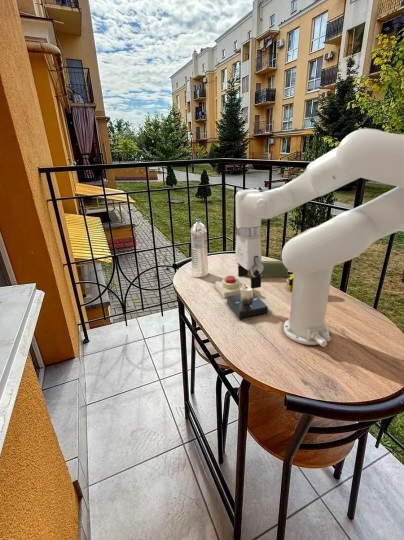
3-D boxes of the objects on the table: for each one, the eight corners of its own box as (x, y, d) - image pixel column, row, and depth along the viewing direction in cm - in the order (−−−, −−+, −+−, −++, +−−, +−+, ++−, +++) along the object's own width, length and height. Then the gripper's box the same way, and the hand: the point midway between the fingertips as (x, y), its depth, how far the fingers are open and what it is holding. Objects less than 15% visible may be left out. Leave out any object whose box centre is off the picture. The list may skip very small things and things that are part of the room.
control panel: (267, 314, 92) (267, 306, 91) (239, 320, 90) (239, 311, 89) (252, 298, 102) (252, 291, 101) (226, 303, 100) (226, 295, 98)
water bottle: (198, 270, 128) (196, 216, 119) (211, 273, 124) (209, 218, 115) (189, 275, 123) (186, 220, 114) (202, 279, 119) (199, 222, 110)
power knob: (254, 302, 94) (255, 288, 92) (243, 305, 93) (243, 290, 91) (249, 297, 97) (249, 283, 95) (238, 299, 96) (238, 285, 94)
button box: (246, 294, 106) (246, 284, 104) (224, 298, 103) (224, 288, 102) (236, 282, 115) (236, 274, 113) (215, 286, 112) (215, 277, 111)
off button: (236, 283, 107) (236, 278, 106) (227, 284, 106) (227, 280, 105) (233, 279, 110) (233, 275, 109) (224, 280, 109) (224, 276, 108)
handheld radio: (241, 273, 123) (300, 274, 120) (241, 277, 120) (301, 277, 117) (241, 259, 120) (301, 259, 117) (241, 263, 117) (303, 263, 114)
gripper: (226, 226, 93) (228, 273, 99) (249, 239, 77) (250, 295, 83) (247, 223, 95) (248, 270, 100) (274, 236, 79) (272, 290, 85)
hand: (249, 281), depth 92 cm, fingers open, 9 cm apart
